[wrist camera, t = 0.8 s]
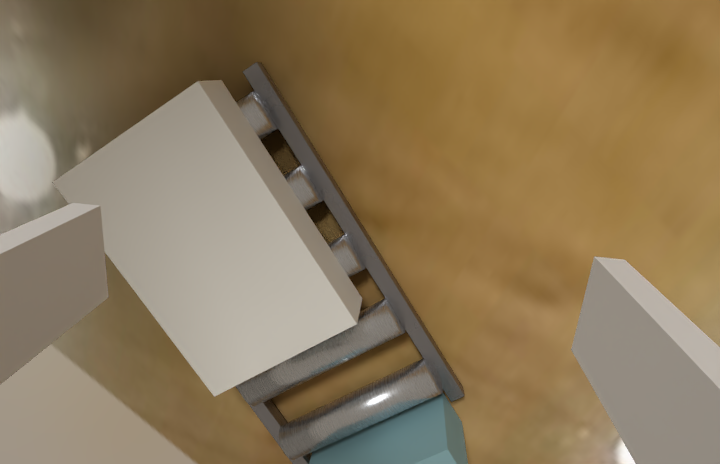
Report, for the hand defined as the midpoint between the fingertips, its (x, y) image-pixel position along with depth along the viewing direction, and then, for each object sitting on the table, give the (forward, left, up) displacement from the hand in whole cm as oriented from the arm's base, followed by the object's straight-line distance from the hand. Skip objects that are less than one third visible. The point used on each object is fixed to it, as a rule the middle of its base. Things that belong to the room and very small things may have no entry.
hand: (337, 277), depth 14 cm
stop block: (+22, -13, -25) cm, 35 cm away
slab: (-1, -13, -22) cm, 25 cm away
